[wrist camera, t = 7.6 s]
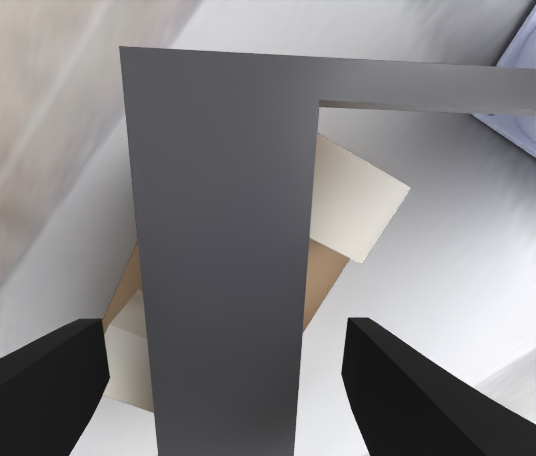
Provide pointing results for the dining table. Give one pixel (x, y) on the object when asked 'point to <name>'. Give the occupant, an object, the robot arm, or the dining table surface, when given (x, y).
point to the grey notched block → (250, 220)
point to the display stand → (318, 269)
